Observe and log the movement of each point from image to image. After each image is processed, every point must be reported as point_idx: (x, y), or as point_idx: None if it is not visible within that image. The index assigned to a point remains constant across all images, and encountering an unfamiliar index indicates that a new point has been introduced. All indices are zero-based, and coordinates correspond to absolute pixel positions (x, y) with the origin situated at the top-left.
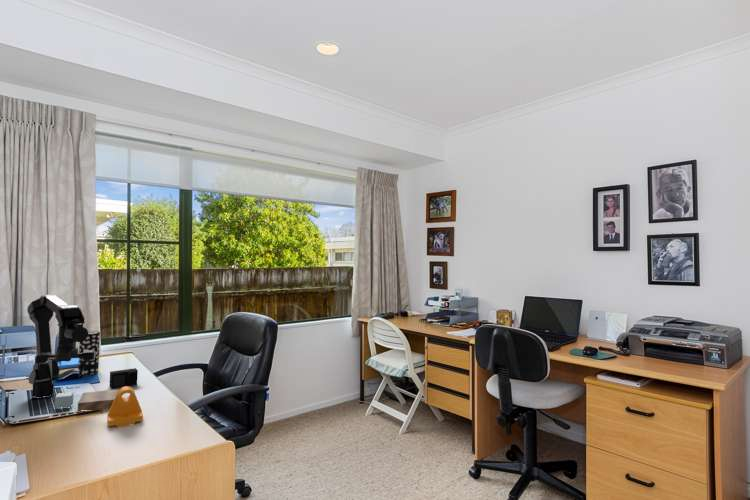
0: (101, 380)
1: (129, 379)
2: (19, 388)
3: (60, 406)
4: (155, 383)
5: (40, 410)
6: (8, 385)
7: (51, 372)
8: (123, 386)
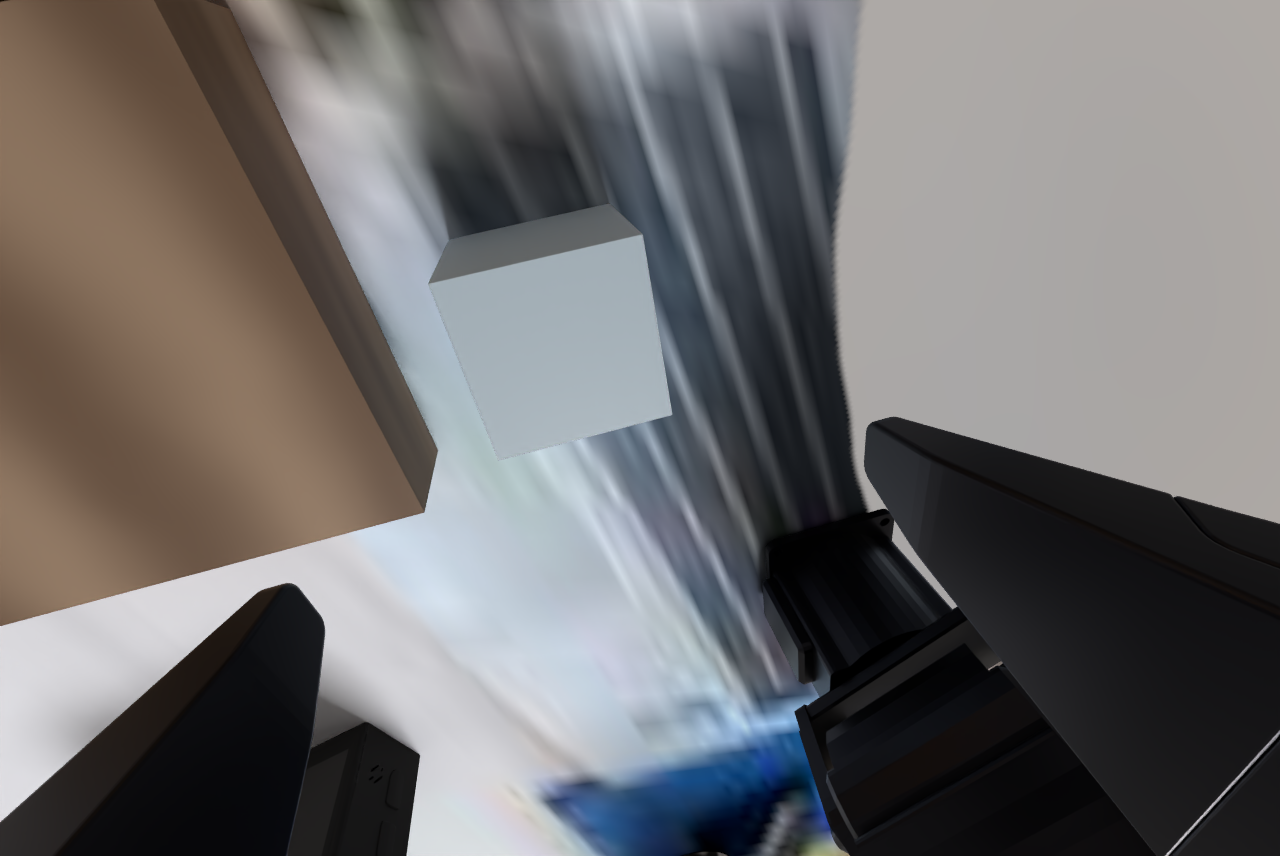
0: (551, 822)
1: None
2: None
3: (557, 220)
4: None
5: (754, 218)
6: None
7: (999, 571)
8: None
